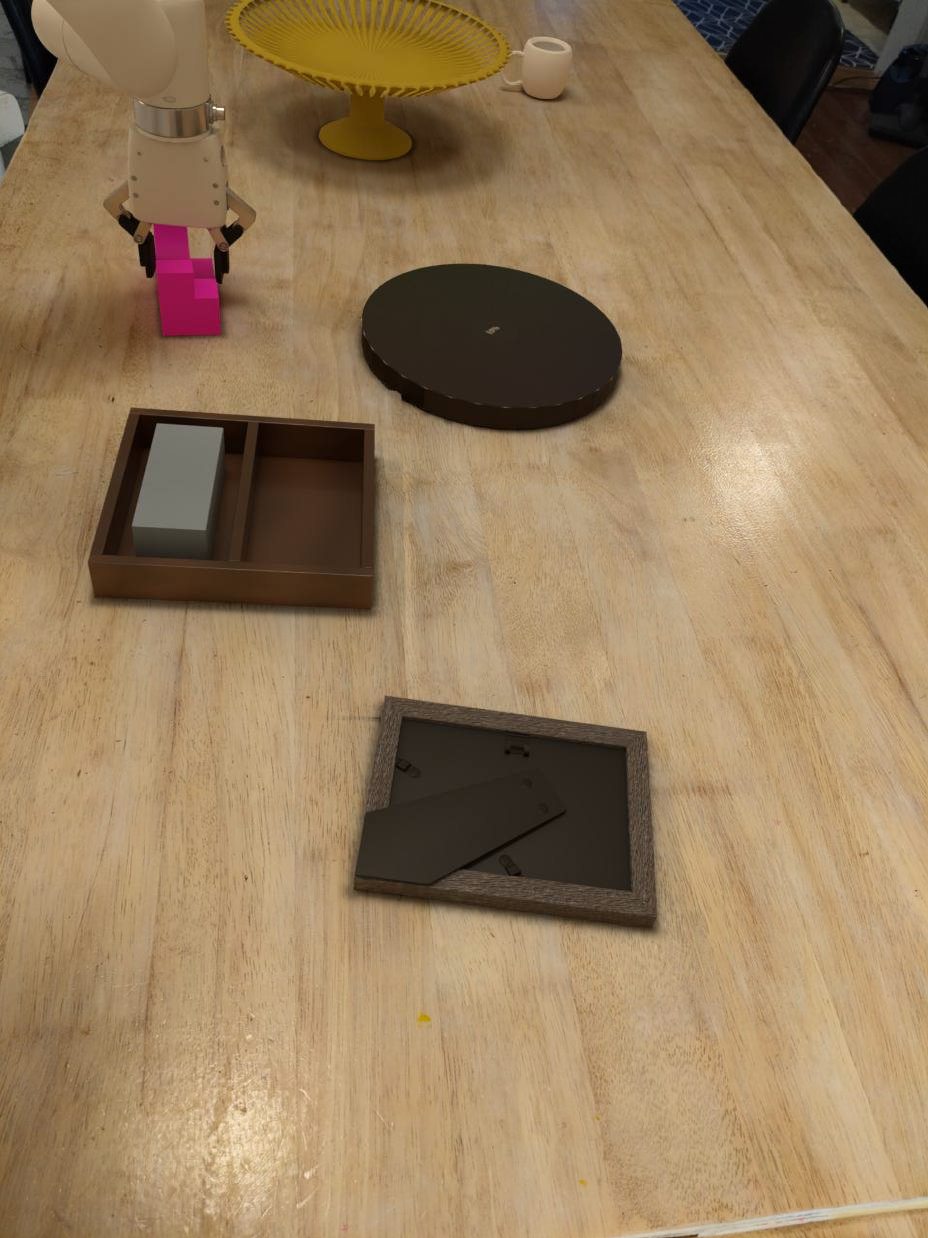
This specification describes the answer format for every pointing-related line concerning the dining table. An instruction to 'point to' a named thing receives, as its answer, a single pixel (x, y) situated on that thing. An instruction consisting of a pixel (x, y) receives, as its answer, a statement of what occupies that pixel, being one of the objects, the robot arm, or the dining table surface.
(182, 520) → the gray rectangular block
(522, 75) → the mug
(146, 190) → the robot arm
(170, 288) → the toy block
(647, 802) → the picture frame
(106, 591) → the divided tray
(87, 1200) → the dining table surface
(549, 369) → the disc
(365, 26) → the yellow pedestal bowl
